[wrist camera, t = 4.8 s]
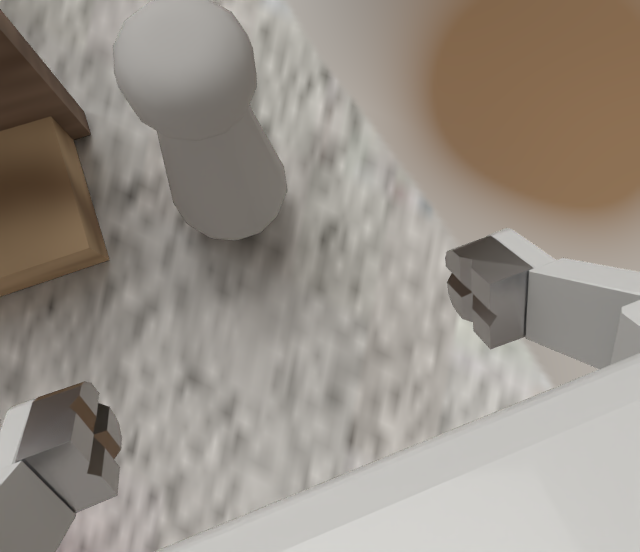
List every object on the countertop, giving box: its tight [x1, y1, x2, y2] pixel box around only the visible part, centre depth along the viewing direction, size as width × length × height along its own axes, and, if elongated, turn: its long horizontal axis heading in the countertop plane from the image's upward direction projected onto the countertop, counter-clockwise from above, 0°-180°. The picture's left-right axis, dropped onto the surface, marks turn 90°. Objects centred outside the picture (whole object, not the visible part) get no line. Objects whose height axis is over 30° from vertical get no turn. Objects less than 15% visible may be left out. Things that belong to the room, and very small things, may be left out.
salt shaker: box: [113, 0, 287, 240], centre depth 20 cm, size 6×6×13 cm
